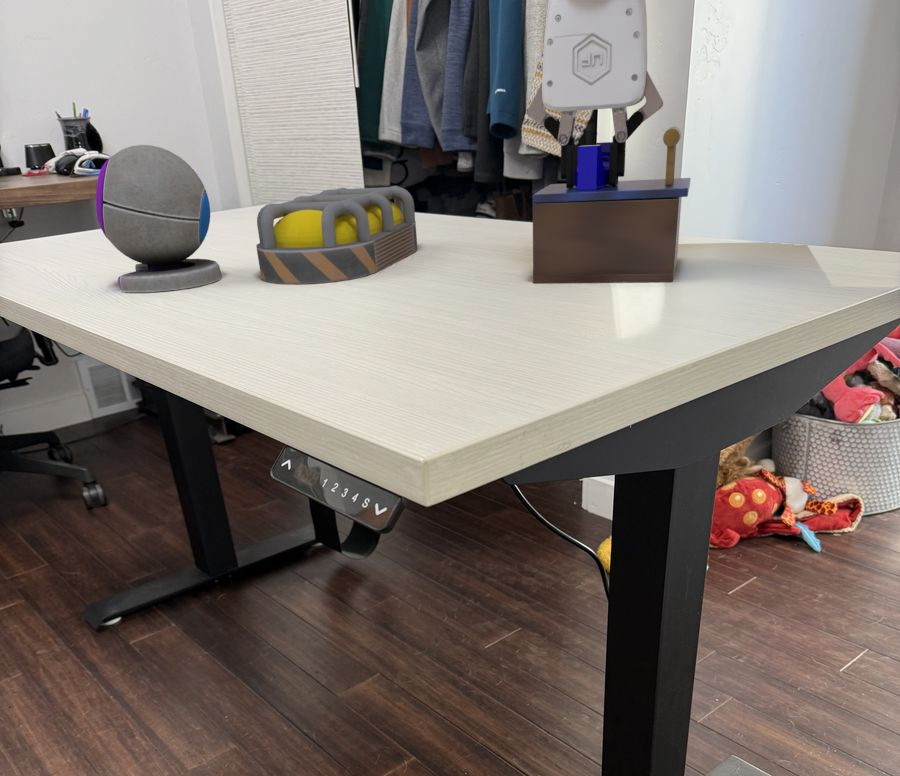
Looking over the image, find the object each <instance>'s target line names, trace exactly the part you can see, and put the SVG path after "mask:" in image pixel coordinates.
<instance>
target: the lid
mask: <svg viewBox="0 0 900 776" xmlns="http://www.w3.org/2000/svg"><path fill="white" fill-rule="evenodd" d="M662 136H663V137H662V141H663V144H664V145H665V146H666V163H665V165H666V166H665V178H658V179H635V180H633V179H632V180H618V184H617V185H616V186H611V185H609V186H606V187H603V188H600V189H598V190H577V187H575V186H574V187H572V188H566V183H550V184H549V185H547V186H545V187H544V188H541V189H540V190H539V191H537V192H535V193H534V194H532V204H533V203H547V202H572V201H596V200H620V199H645V198H669V197H682V198H687V197H688V196H689V192H690V187H691V177H681V178H680V177H679V178H677V177H676V178H675V168H676V152H677V144H678V143H680V142H679V141H680V140H681V137H682V131H681V129H680V128H679V127H677V126H671V127H669V128H668V129H667V130H666V131H665V132H664V134H663V135H662Z"/></svg>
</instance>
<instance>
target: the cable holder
mask: <svg viewBox="0 0 900 776" xmlns="http://www.w3.org/2000/svg"><path fill="white" fill-rule="evenodd" d="M612 143H613V141H598V142H596V144H589V145H588V144H587V145H579V146H578V145H577V171H576V176H575V187H577V190H598V189H600V188H603V187H606V186H609V159H610V144H612Z"/></svg>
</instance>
